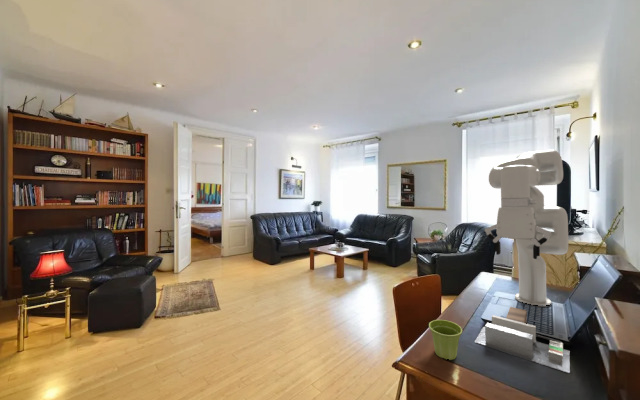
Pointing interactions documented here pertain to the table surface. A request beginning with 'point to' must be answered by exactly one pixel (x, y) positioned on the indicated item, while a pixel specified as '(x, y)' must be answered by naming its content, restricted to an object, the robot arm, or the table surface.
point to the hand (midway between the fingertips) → (516, 255)
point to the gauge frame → (525, 346)
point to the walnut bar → (517, 315)
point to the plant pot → (445, 338)
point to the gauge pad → (518, 327)
